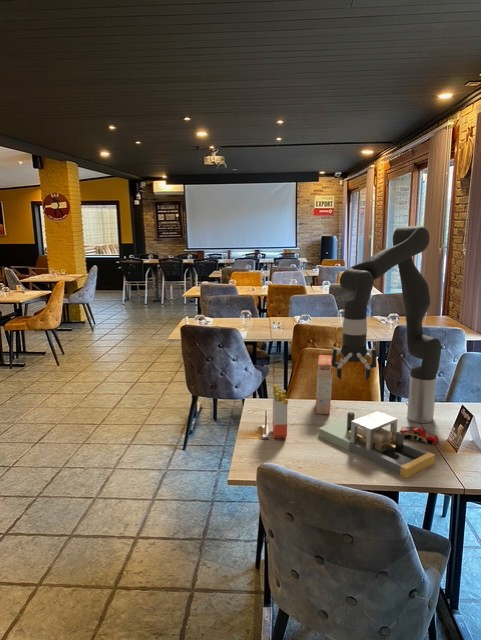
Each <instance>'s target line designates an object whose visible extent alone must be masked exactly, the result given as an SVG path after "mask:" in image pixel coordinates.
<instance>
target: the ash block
mask: <svg viewBox="0 0 481 640" xmlns="http://www.w3.org/2000/svg"><path fill="white" fill-rule="evenodd" d="M357 434H360V435H362V436H364V437H366V438H367V430H365V429H362V428H360V427H358V429H357ZM390 439H392V432H390V430H387V429H385V428H384V427H382V428H380V429H377V430H375V431H374V436H373V441H375V442H378V443H380V444H381V443H383V442H386V441H388V440H390Z"/></svg>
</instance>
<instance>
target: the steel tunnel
mask: <svg viewBox="0 0 481 640" xmlns="http://www.w3.org/2000/svg"><path fill="white" fill-rule="evenodd" d="M398 419H399V418H397V417H394V416H392V415H389V414H387V413H383V412H382V411H379V410H376V411H375V412H373V413H369V414H367V415H366V414H365V415H363V416H361V417H359V418H356V419H355V418H354V420H353V421H351V438H350V442H352V443H356V442H357V429H358V427H360V428H362V429H365V430H367V440H366V449H367V450H369V451H371V450H373V436H374V431H375V430H377V429H380V428H384V427H387V426H388V425H389V426H390V429H389V431H390V432H392V434H393V435H395V436H396V433H397V432H398Z"/></svg>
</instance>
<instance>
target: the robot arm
mask: <svg viewBox="0 0 481 640" xmlns="http://www.w3.org/2000/svg"><path fill="white" fill-rule="evenodd" d="M429 244H430V233H429V231H428V229H427V228H426V227H423V226H419V225H418V226H417V225H414V226H399V227H396V229H394V231H393V234H392V246H390V247H388V248H385V249H382V250H380V251H377V252H376V253H374V254H373V255H372V256H370V257H369V258H367V259H366V260H365V261H363V262H359V263H357V264H355V265H352V266H350V267H348V268H346V269H345V270H344V271H343V272H342V273H341V275H340V277H339V285H340V287H341V289H343V290H344V291H347V292H351V293H352V292H354V293H355V296H354V297H353V298H349V299H346V300H345V302H344V307H343V309H344V311H343V324H342V345H341V348H336V347H333V348H332V352H331V356H332V361H331V364H332V366H333V368H336V378H338V379H339V380H342V371H343V370H342V367H343V366H344V365H345V364H346V363H347V362H349V363H353V362H354V363H360V362H361V363H362V364H363V365H364V367H365V368H364V380H365V381H368V379H370V377H371V369H373V368H374V369H375V368H376V367H377V350H376V348H374V347H372V348H367V334H368V323H367V316H368V315H367V311H368V310H367V309H368V303H369V301H370V296H371V294H372V291H373V287H374V281H375V280H377V279H379V278H380V277H382V276H383V275H385V274H386V273H387V272H388V271H390V270H391V269H392V268H395V266H397V267H398V271H399V278H400V284H401V285H400V286H401V292H402V293H401V294H402V300H403V307H404V312H405V313H404V314H405V324H406V340H407V341H406V343H407V344H406V347H407V350H408V353H409V355H411V356H412V357H414V358H416V359H418V360H421V364H420V365H416V366H413V367H412V368H411V369H410V373H409V375H410V376H409V388H408V399H407V400H408V402H407V412H406V414H407V416H406V417H407V419H408V420H409V421H410V422H413V423H419V424H429V423H432V422H433V419H434V414H435V403H436V402H435V401H436V395H435V391H436V381H437V374H438V371H439V370H440V369H439V368H440V362H441V361H440V360H441V354H442V343H441V340H440V339H439V338H437V337H434V336H431V335H426V334H424V331H423V319H424V317H425V315H426V314H427V311H428V310H429V308H430V306H431V296H430V295H431V294H430V288H429V284H428V282H427V281H426V279H425V277H424V276H423V275H422V273H421V272H420V271H419V269H418V268H417V267H416V264H415V263H414V261H413V257H414V256H417V255H418V254H420V253H421V254H422V252H424V251H426V249H427V248H428V246H429ZM340 353H341V355H342V357H341V358H340V359H339V361H338V362H337V356H339V354H340ZM367 354H368V355H369V356H370V359H371V361H370V363H369V362H368V360H367V359H366V356H367Z"/></svg>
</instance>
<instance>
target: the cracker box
mask: <svg viewBox="0 0 481 640" xmlns="http://www.w3.org/2000/svg"><path fill="white" fill-rule="evenodd" d="M331 361H332V355H328V354H327V355H324V354H319V355H318V361H317V372H316V395H315V396H316V397H315V414H319V415H326V416H327V415H328V416H329V415H331V413H330V412H331V403H332V402H331V401H332V387H333V385H332V384H333V369H334V367H333V366H332V364H331Z"/></svg>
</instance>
